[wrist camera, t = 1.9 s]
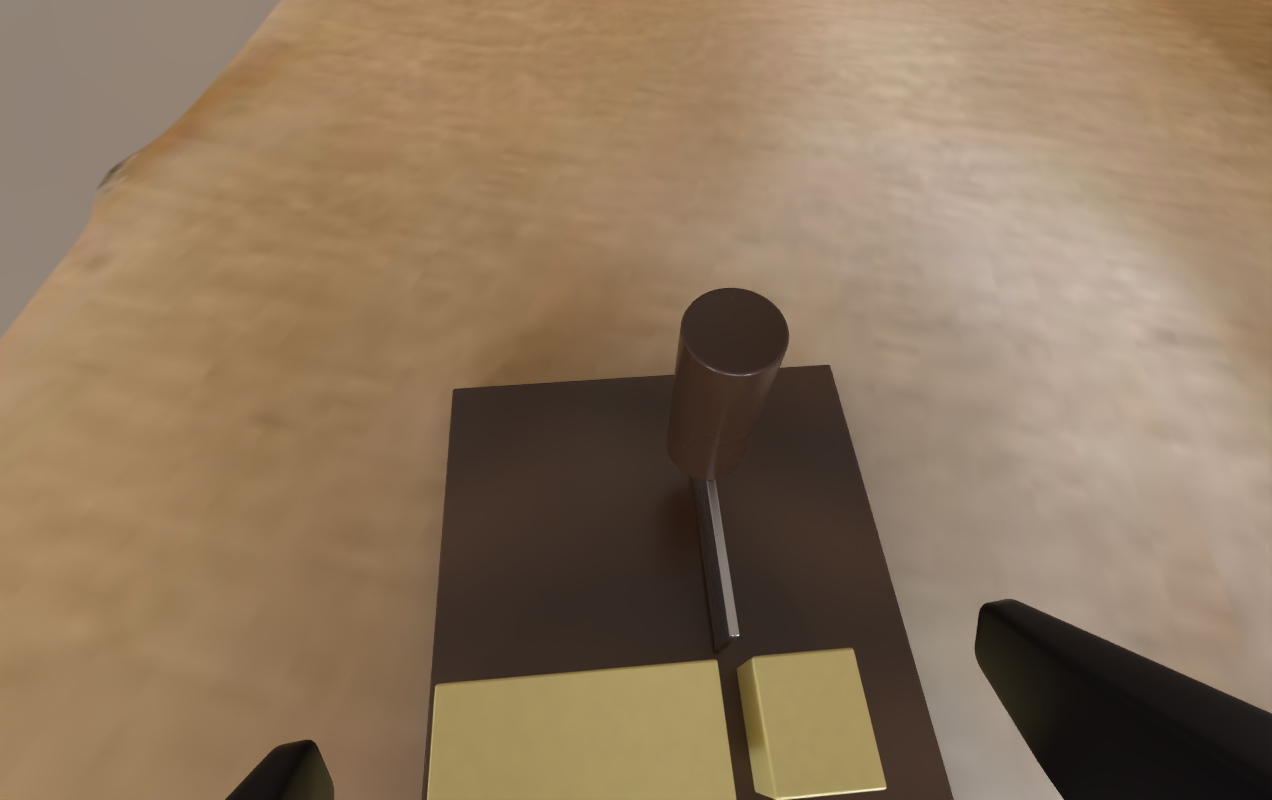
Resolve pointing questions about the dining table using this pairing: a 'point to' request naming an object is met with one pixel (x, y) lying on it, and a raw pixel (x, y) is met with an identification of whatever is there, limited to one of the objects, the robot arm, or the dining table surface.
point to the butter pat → (808, 725)
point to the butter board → (668, 554)
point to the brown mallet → (721, 415)
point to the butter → (584, 736)
